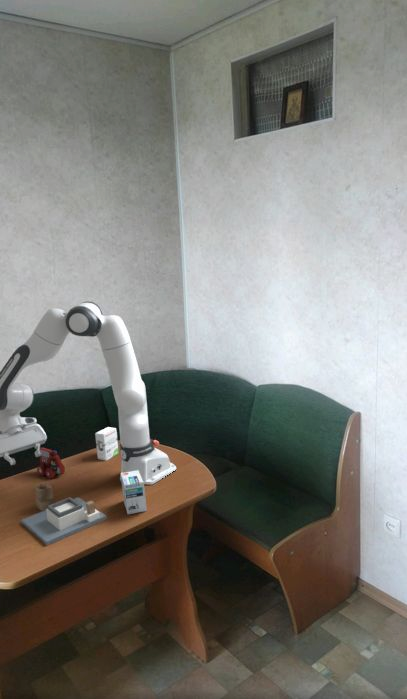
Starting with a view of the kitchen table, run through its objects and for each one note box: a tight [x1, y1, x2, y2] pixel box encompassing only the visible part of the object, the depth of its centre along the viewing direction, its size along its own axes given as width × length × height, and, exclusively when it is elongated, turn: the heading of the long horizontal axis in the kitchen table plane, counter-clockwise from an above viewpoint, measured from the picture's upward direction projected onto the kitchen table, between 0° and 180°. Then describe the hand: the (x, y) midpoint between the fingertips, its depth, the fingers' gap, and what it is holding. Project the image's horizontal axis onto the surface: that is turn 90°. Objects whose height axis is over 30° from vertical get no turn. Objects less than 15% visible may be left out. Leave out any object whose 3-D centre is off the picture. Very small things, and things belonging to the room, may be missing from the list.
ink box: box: [94, 426, 120, 461], centre depth 226 cm, size 9×5×12 cm, turn 150°
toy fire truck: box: [36, 446, 66, 479], centre depth 212 cm, size 7×12×10 cm, turn 54°
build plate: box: [20, 496, 107, 546], centre depth 175 cm, size 21×19×7 cm
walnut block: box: [33, 482, 55, 512], centre depth 186 cm, size 4×4×8 cm
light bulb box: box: [120, 470, 148, 515], centre depth 182 cm, size 11×7×11 cm, turn 17°
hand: (26, 459), depth 193 cm, fingers open, 8 cm apart
